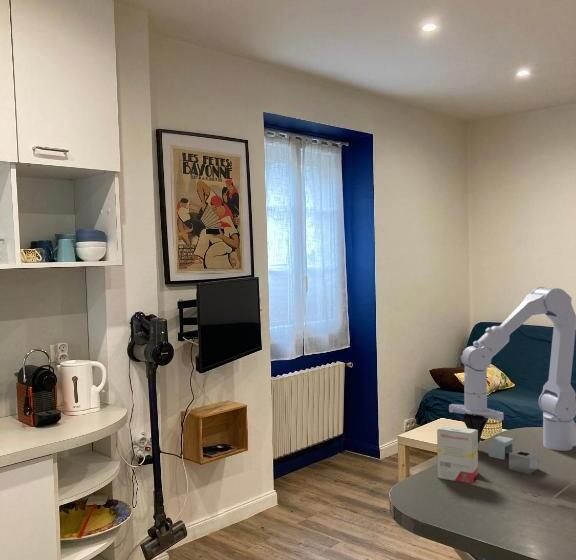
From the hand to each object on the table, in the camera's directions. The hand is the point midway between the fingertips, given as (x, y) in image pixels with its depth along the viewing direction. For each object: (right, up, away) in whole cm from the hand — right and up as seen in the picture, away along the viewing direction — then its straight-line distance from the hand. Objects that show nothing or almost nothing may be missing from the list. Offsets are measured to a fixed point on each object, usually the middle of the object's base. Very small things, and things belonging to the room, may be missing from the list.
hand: (475, 443), depth 162 cm
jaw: (+7, -2, -15) cm, 17 cm away
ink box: (-9, -4, -17) cm, 20 cm away
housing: (+5, -2, -5) cm, 7 cm away
